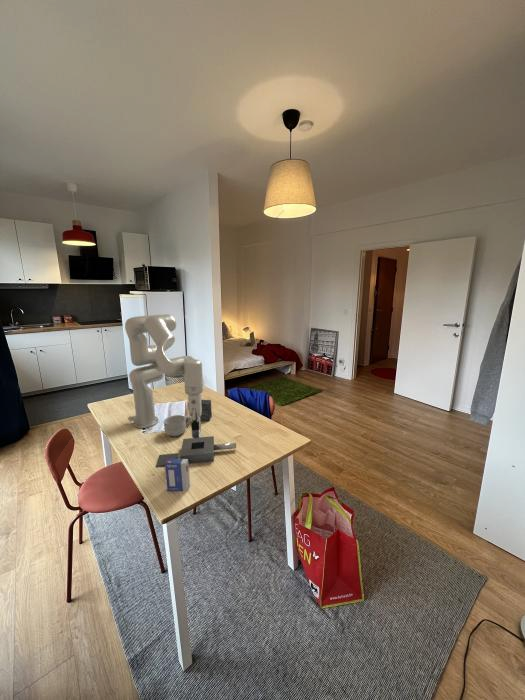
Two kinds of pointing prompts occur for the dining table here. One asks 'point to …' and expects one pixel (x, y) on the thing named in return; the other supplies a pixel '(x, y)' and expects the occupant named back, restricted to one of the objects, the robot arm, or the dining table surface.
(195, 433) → the silver copper cylinder
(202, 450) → the block
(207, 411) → the small box
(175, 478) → the walkman
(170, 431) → the teacup
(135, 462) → the dining table surface
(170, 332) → the robot arm
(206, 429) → the dining table surface
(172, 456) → the rubber pad
